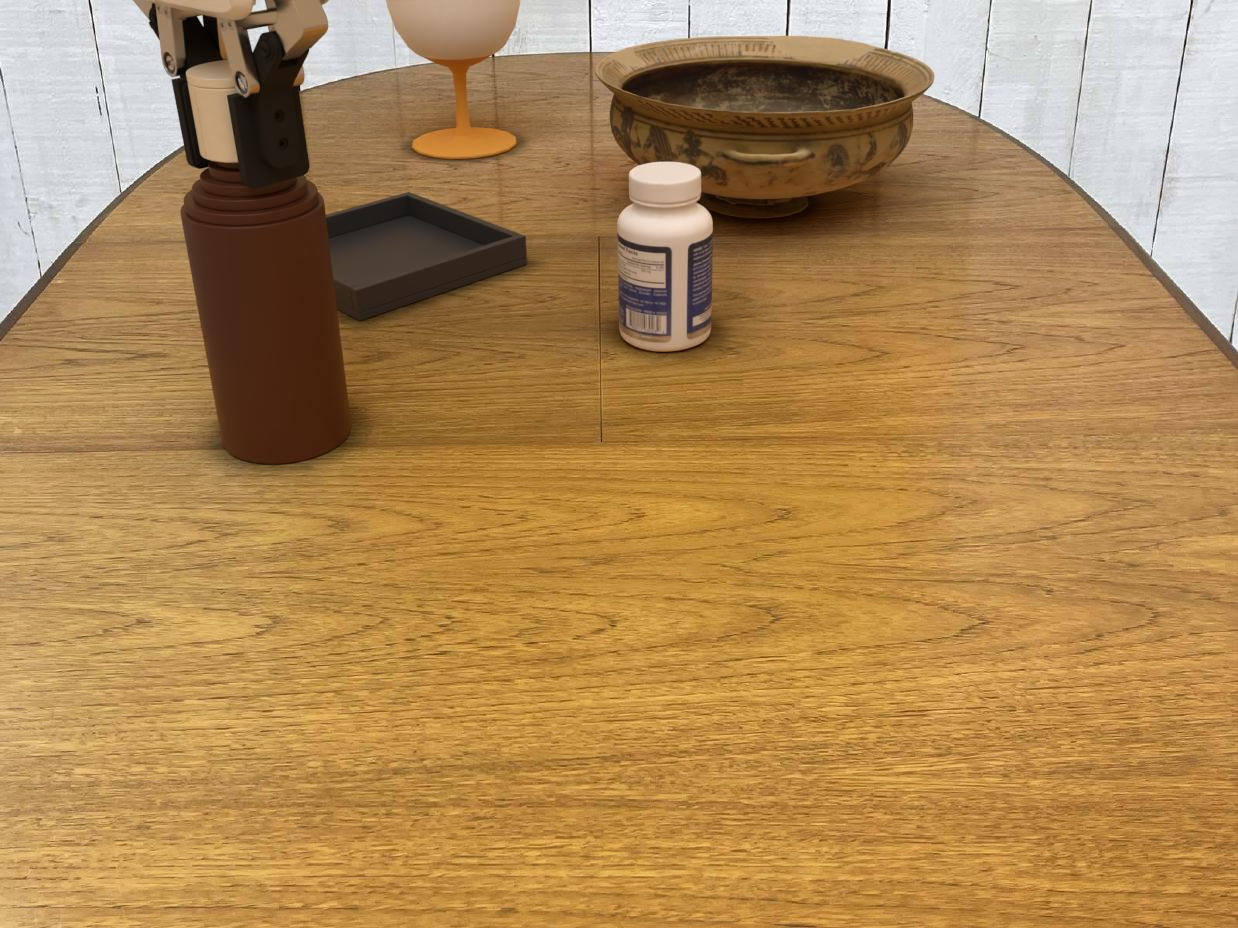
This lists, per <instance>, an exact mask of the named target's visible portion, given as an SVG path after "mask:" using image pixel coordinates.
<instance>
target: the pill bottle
mask: <svg viewBox="0 0 1238 928" xmlns="http://www.w3.org/2000/svg"><path fill="white" fill-rule="evenodd" d="M701 194H702V192H701V171H700V170H699V169H698V168H697V167H695V166H693V165H690V164H685V163H680V162H653V163H647V164H643V165H637V166H635V167H633V168H632V169H630V171H629V172H628V197H629V200H630V201H631V202H632V204H629V205H627V206H626V207H625V208H624V209H623V210H622V211H621V213H620V214H619V216H618V218H617V221H616V222H617V224H616V228H617V230H616V234H617V237H616V239H617V271H618V272H617V279H618V280H617V281H618V282H617V283H618V287H617V288H618V328H619V334H620V336H621V337H622V339H623V340H624V341H625V342H627V343H628V344H629V345H631V346H633V347H636V348H638V349H641V350H644V351H645V350H646V351H650V352H662V353H664V352H676V351H682V350H687V349H690V348H694V347H696V346H698V345H700V344H702V343H704V342H705V341H706V340H707V339H708V338H709V336H710V334H711V330H712V314H713V312H712V307H713V261H714V260H713V259H714V258H713V251H714V250H713V248H714V243H713V242H714V225H713V224H714V222H713V217H712V215H711V213H710V211H709V210H708V208H706V207H704V206H703V205H702V204H701V203H698V201H700V197H701Z"/></svg>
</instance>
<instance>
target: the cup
mask: <svg viewBox="0 0 1238 928" xmlns="http://www.w3.org/2000/svg"><path fill="white" fill-rule="evenodd" d="M385 3H386V7H387V10H388V13H389V15H390V19H391V20H392V24H393V26H394V28H395V31H396V32H397V34H398V35H399V36H400V38H401V39H402V41H403V42H404V44H405V45H406V47H407V48H408V49H409V50H411V51H412V52H413V53H414V54H416V55H418V56H419V57H421V58H423V59H426V60H427V61H430V62H432V63H434V64H436V65H439V66H442V67H445V68H448V70H449V71H450V73H451V74H452V81H453V87H454V97H455V115H456V116H455V119H456V120H455V121H456V122H455V127H452V128H451V127H450V128H443V129H438V130H433V131H430V132H427V133H424V134H421V135H419V136H418V137H416V138H415V139H413V140H412V144H411V149H412V150H414V151H415V152H416V153H417V154H419V155H422V156H426V157H429V158H433V159H443V160H474V159H480V158H481V159H483V158H488V157H493V156H497V155H500V154H503V153H506V152H509V151H510V150H512V149H513V148H514V147H515V146H517V137H516V136H515V135H513V134H512V133H511V132H508V131H506V130H501V129H497V128H493V127H492V128H491V127H479V126H478V127H477V126H471V121H470V114H469V105H468V94H467V93H468V90H467V89H468V87H467V73H468V71H469V69H470V68H471V67H472V66H475V65H478V64H481V62H484V61H485V60H487V59H488V58H490V57H491V56H493V55H495V54H497V53H499V52H500V51H501V50H502V49H503V48H504V47H505V46H506V45H507V44H508V41H509V39H510V37H511V35H512V33H513V31H514V29H515V28H516V25H517V21H518V16H519V11H520V7H521V6H520V5H521V0H385Z"/></svg>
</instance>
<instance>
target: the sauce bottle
mask: <svg viewBox="0 0 1238 928" xmlns="http://www.w3.org/2000/svg"><path fill="white" fill-rule="evenodd" d="M326 215H327V213H326V207H325V199H324V197H323V195H322V194H321V193H320V192H319V189H318V187H317V185H316V184H315V183H314V182H313V181H311V180H310V179H307V177H306V176H305V175H303V176H300V177H296V178H293V179H289V180H285V181H282V182H278V183H275V184H271V185H267V186H264V187H260V188H256V189H254V188H251V187H248V186H245V185H244V184H243V183H242V180H241V176H240V170H239V164H238V163H224V162H215V161H210V162H209V164H208V167H207V168H204V169H203V170H202V171H201V172H200V174H199V178H198V179H196V181H195V182H194V183H193V184H192V186H191V189H190V190H189V191H187V192H186V193H185V195H184V196H183V204H182V205H181V208H180V219H181V224H182V230H183V234H184V240H185V246H186V252H187V257H188V262H189V263H188V264H189V268H190V269H189V270H190V275H191V279H192V285H193V290H194V295H195V302H196V306H197V312H198V318H199V323H200V328H201V334H202V339H203V345H204V351H205V356H206V362H207V368H208V372H209V377H210V383H211V388H212V389H211V390H212V395H213V400H214V405H215V410H216V416H217V422H218V427H219V432H220V439H221V443H222V446H223V448H224V449H225V450H226V452H228V453H229V454H230V455H232V456H233V457H236V458H237V459H239V460H242V461H246V462H251V463H255V464H269V465H275V464H276V465H277V464H278V465H279V464H290V463H291V464H292V463H296V462H297V463H298V462H302V461H306V460H310V459H313V458H317V457H319V456H322V455H325V454H326V453H329V452H330V451H333V450H334V449H336V448H338V447H339V446H340V445H341V444H342V443H343V442H344V441H346V439H347V438H348V436H349V435H350V433H351V429H352V420H351V419H352V418H351V412H350V404H349V394H348V388H347V379H346V372H345V363H344V353H343V346H342V345H343V344H342V338H341V337H342V336H341V330H340V321H339V313H338V309H337V304H336V296H335V287H334V279H333V271H332V263H331V254H330V246H329V238H328V230H327V222H326Z"/></svg>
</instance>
